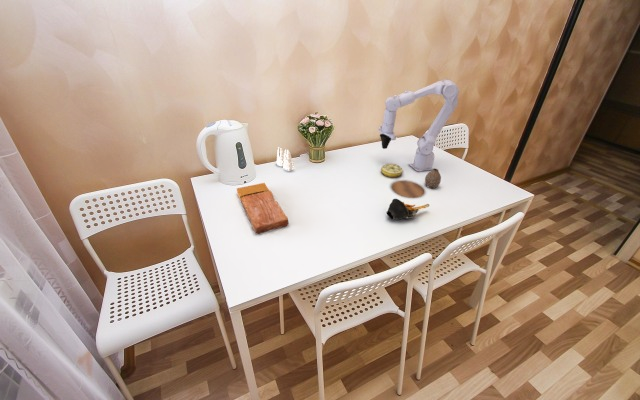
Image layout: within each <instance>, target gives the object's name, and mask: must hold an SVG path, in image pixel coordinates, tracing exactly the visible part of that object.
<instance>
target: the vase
mask: <svg viewBox="0 0 640 400" xmlns="http://www.w3.org/2000/svg"><path fill="white" fill-rule="evenodd" d="M441 181H442V176H441V174H440V171H439V169H438V168H432V170H429V172H427V174H426V175H425V179H424V183H425V185H426V187H427V188H429V189H435V188H437V187H439V185H440V184H441Z"/></svg>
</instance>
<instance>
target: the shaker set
mask: <svg viewBox="0 0 640 400" xmlns="http://www.w3.org/2000/svg"><path fill="white" fill-rule="evenodd" d="M276 166H278V167H282V168H283V169H284V170H285V171H286V172H292V171H293V170H294V169H295V168H296V167H295V164H294V160H293V158H292V155H291V152H290V149H287V148H285V149H284V150H283V148H282V147H280V146H278V147H277V153H276Z"/></svg>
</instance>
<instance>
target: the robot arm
mask: <svg viewBox="0 0 640 400" xmlns="http://www.w3.org/2000/svg"><path fill="white" fill-rule="evenodd" d="M434 94H435V95H438V96H443V100H444V104H443V106H442V107H441V109H440V110H439V112H438V114H437V115H436V117H435V118H434V120H433V122H432V123H431V125H430V126H429V128H428V130H427V131H426V132H425V133H423V135H422V136H421V137H420V138H418V140H417V143H416V144H417V146H418V147H417V148H416V150H415V154H414V159H413V162H412V163H409V164H408V165H409V167H411V168H412V169H413V170H415V171H416V172H425V171H432V170H433V165H434V161H435V154H434V146H435V144H436V140H437V137H438V136H439V134H440V133H441V131H442V130H443V128H444V126H446V124H447V122H448V120H449V119H450V117H451V115H452V114H453V113H454V112H455V109H456V108H457V106H458V104H459V94H460V89H459V87H458V85H457V83H455V82H454V81H453V80H452V79H449V78H445V79H442V80H438V81H436V82H434V83H431V84H429V85H427V86H424V87H422V88H420V89H418V90H414V91H413V90H405V91H404V92H402V93H399V94H395V95H394V96H389V97H387V98H386V100H385V101H384V105H385V109H384V113H383V117H382V118H383V120H382V126H381V125H379V126H378V131H379V133H378V134H379V138H380V140H381V148H382V149H383V150H386V149H388V146H389V145H390V143H391V141H396V140H397V135H396V134H395V132H394V129H395V123H396V117H397V111H398V110H399V108H402V107H405V106H409V105H411V104H413V103H415V101H416V100H417V99H420V98H425V97H426V96H429V95H434Z"/></svg>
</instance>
